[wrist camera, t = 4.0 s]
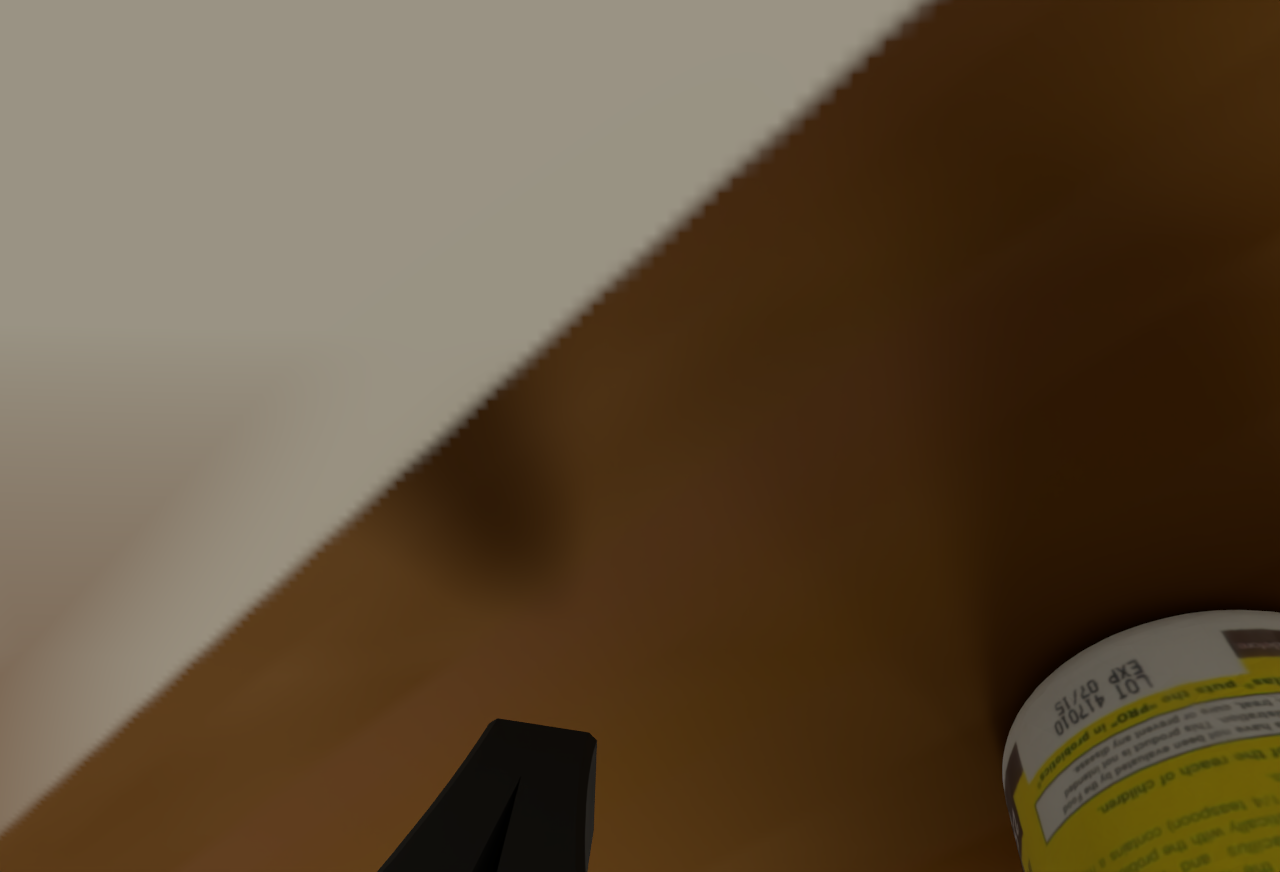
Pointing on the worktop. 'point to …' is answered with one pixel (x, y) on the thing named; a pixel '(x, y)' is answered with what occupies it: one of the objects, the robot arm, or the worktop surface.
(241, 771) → the worktop surface
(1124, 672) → the supplement bottle
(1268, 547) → the worktop surface
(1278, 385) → the worktop surface
